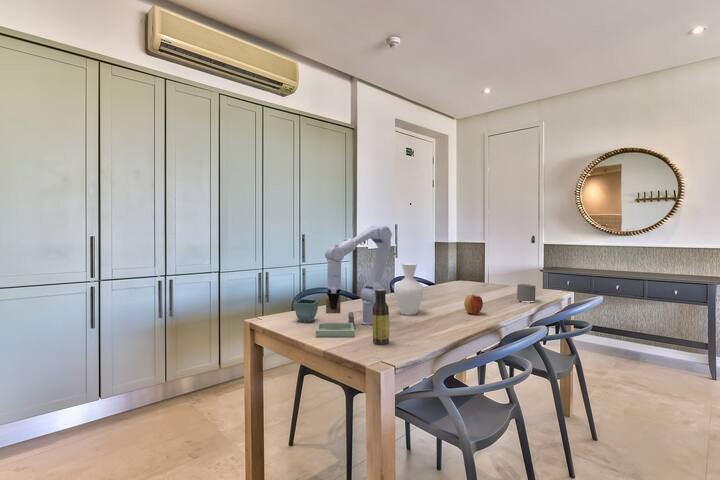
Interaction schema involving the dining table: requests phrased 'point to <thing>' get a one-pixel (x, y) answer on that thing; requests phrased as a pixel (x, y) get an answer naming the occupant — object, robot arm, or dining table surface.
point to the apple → (473, 304)
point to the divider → (351, 318)
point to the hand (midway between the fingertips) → (333, 307)
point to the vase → (408, 291)
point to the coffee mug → (526, 292)
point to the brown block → (328, 308)
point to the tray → (335, 330)
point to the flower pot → (306, 309)
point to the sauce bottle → (380, 318)
